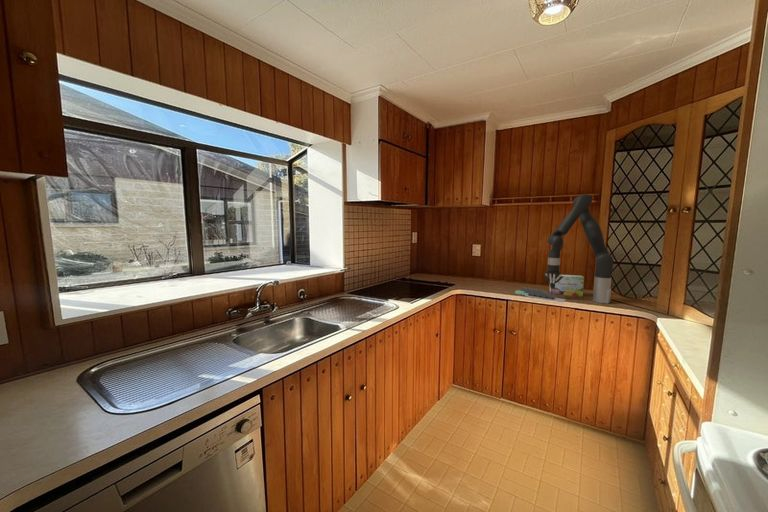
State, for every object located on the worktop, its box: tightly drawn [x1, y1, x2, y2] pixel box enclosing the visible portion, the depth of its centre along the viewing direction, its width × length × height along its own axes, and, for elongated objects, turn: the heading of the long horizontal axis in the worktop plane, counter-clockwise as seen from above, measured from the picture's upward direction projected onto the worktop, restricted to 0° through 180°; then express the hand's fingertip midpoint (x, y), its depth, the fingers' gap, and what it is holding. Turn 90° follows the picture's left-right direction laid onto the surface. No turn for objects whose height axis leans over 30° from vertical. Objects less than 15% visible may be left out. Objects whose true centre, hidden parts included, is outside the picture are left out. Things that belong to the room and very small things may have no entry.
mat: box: [524, 295, 567, 303], centre depth 219 cm, size 26×10×1 cm, turn 44°
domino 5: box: [538, 288, 556, 301], centre depth 218 cm, size 2×5×10 cm
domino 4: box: [532, 287, 547, 298], centre depth 221 cm, size 2×5×10 cm
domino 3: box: [526, 286, 541, 297], centre depth 224 cm, size 2×5×10 cm
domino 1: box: [514, 289, 530, 297], centre depth 230 cm, size 2×5×10 cm
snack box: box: [548, 274, 585, 297], centre depth 227 cm, size 21×6×15 cm, turn 73°
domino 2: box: [520, 285, 535, 296], centre depth 226 cm, size 2×5×10 cm
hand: (552, 288), depth 215 cm, fingers closed
